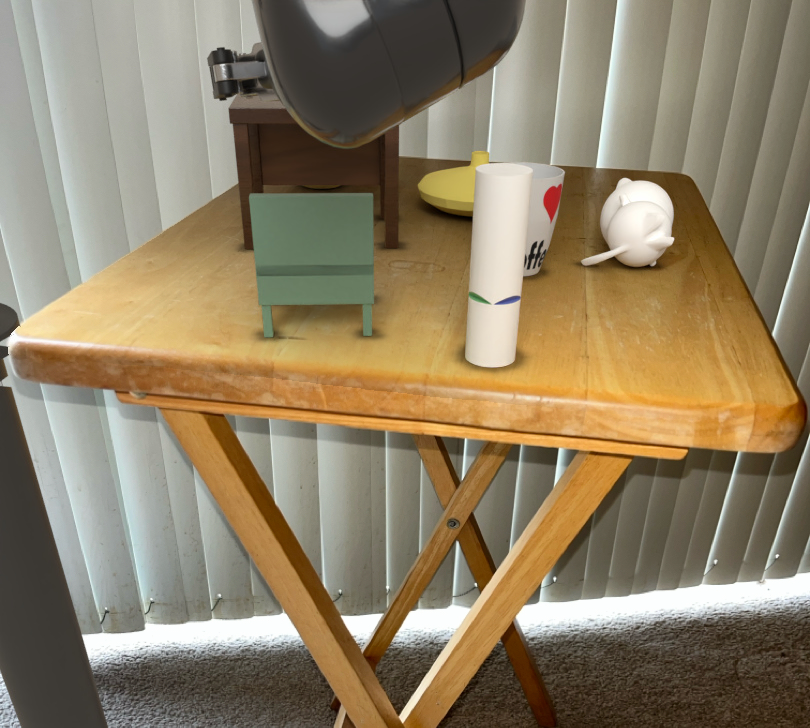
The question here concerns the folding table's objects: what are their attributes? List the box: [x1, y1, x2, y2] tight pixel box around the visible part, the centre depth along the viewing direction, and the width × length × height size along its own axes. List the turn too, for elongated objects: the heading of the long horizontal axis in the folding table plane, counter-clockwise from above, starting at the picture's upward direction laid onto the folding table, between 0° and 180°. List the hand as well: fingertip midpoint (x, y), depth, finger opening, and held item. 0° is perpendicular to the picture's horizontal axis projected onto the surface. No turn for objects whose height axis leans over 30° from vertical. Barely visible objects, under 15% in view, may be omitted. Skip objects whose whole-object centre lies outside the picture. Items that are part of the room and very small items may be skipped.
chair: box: [249, 192, 375, 338], centre depth 75 cm, size 10×10×12 cm
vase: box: [417, 150, 490, 217], centre depth 108 cm, size 16×16×7 cm
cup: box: [506, 161, 566, 277], centre depth 88 cm, size 8×8×10 cm
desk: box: [228, 94, 400, 250], centre depth 97 cm, size 14×18×14 cm
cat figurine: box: [580, 177, 675, 268], centre depth 92 cm, size 9×11×12 cm
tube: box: [464, 162, 533, 368], centre depth 67 cm, size 4×4×15 cm
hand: (307, 74), depth 62 cm, fingers open, 8 cm apart
